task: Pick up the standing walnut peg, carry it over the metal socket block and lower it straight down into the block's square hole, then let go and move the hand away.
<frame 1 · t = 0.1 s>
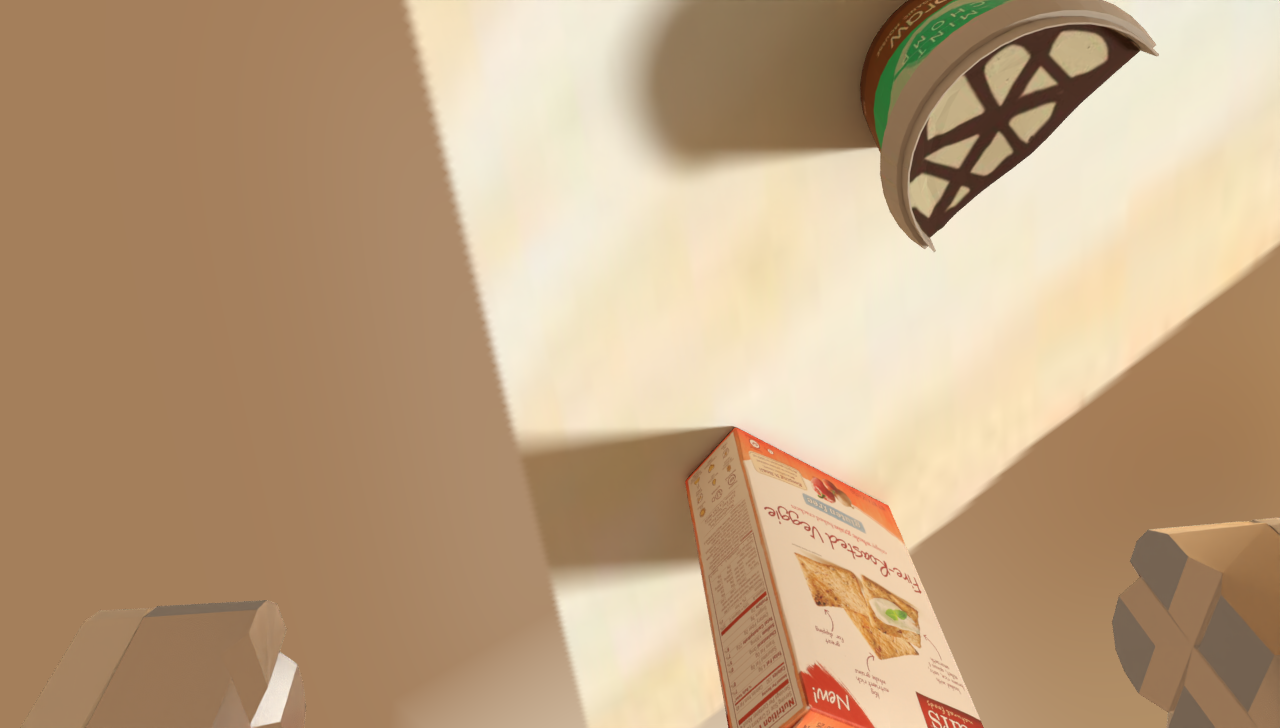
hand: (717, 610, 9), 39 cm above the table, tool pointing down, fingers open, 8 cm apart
food container: (915, 38, 45), on the table
cracker box: (788, 487, 63), on the table
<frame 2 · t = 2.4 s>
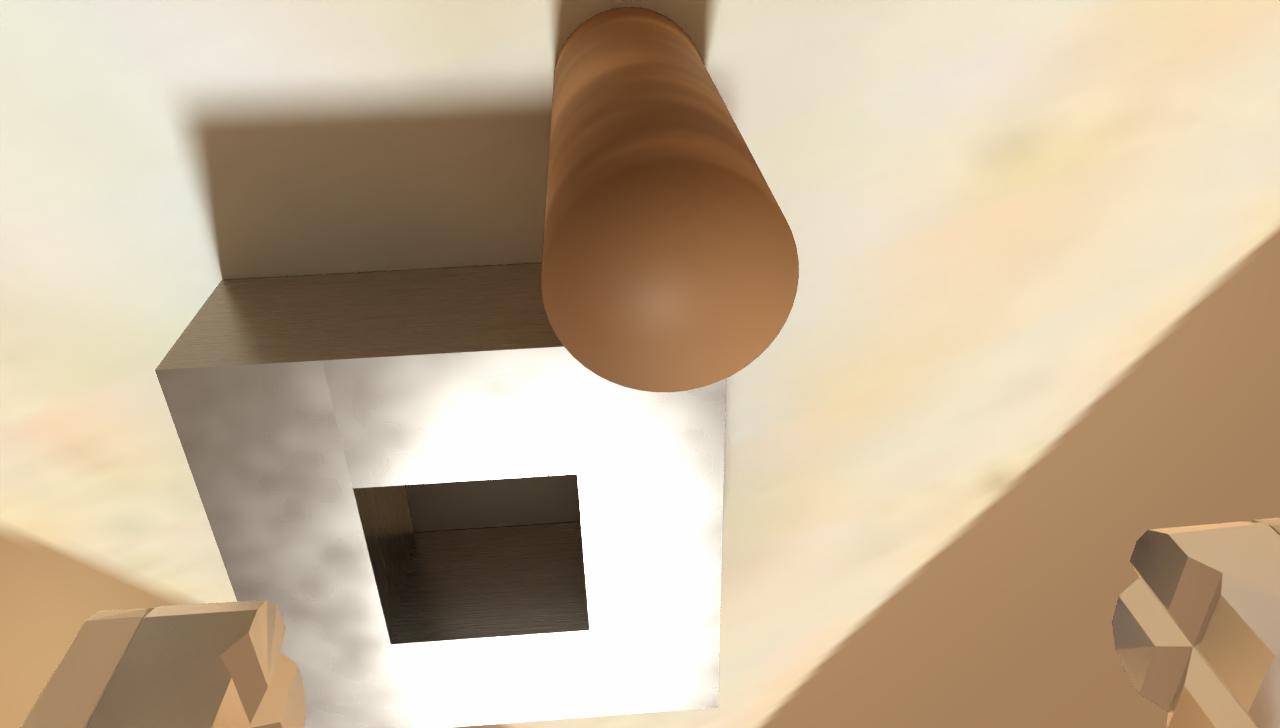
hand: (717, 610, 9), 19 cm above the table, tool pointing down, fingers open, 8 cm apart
walnut peg: (628, 86, 24), on the table
socket block: (491, 458, 30), on the table
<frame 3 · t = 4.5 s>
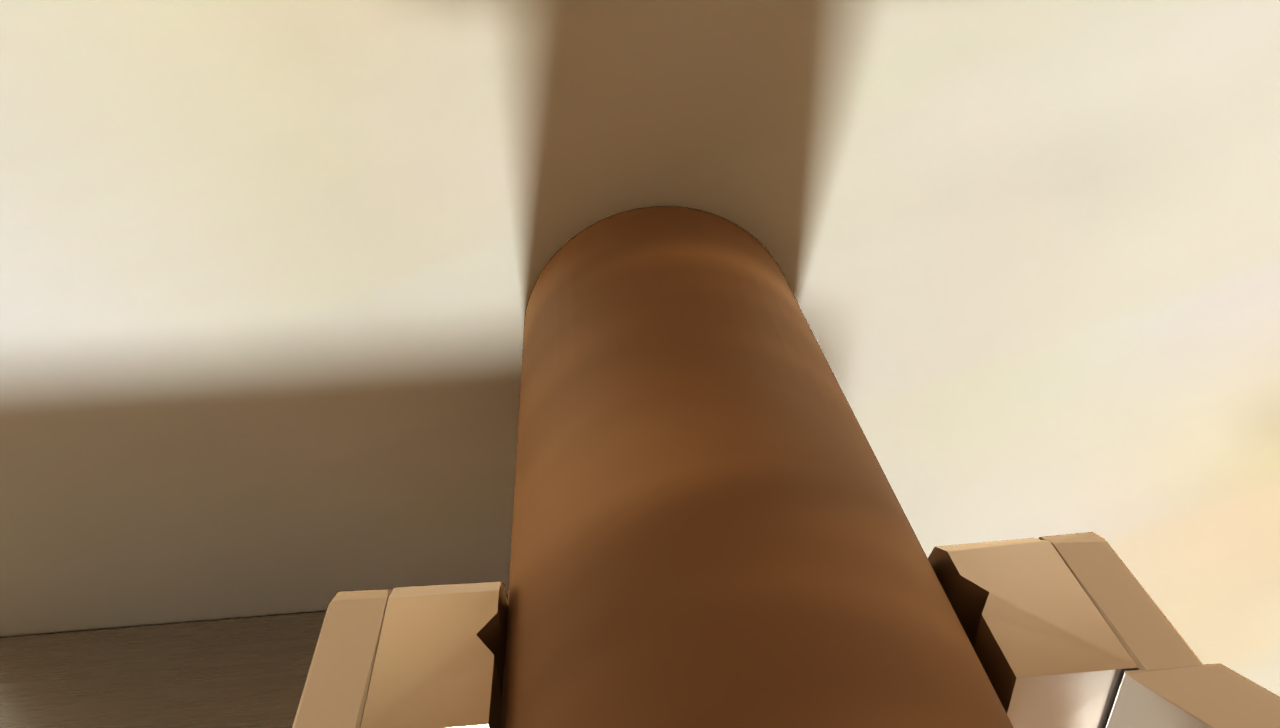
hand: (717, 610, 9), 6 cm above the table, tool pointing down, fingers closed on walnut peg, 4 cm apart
walnut peg: (659, 334, 14), on the table, touching gripper
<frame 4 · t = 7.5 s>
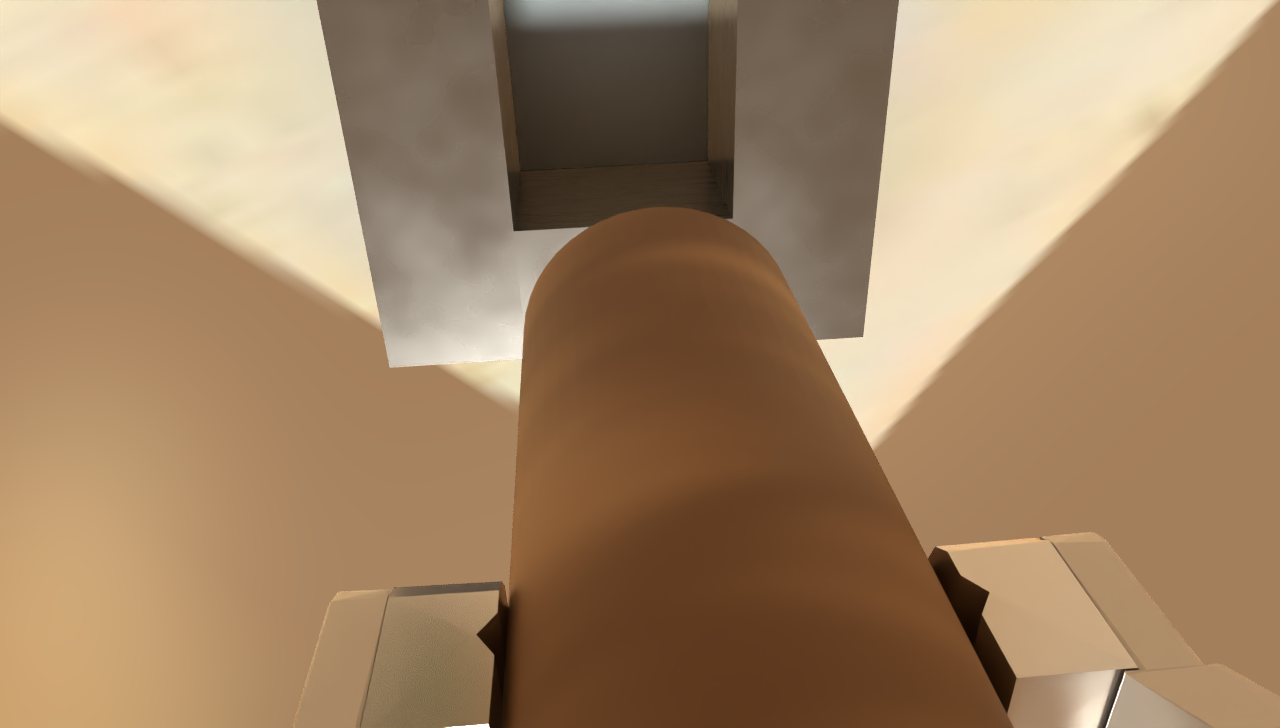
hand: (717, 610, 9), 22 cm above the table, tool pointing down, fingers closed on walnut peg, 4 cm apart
walnut peg: (659, 334, 14), point 17 cm above the table, touching gripper
socket block: (609, 70, 28), on the table
when the fingers open (7 cm above the table, at t = 10.7 s): walnut peg stays where it is, resting in socket block.
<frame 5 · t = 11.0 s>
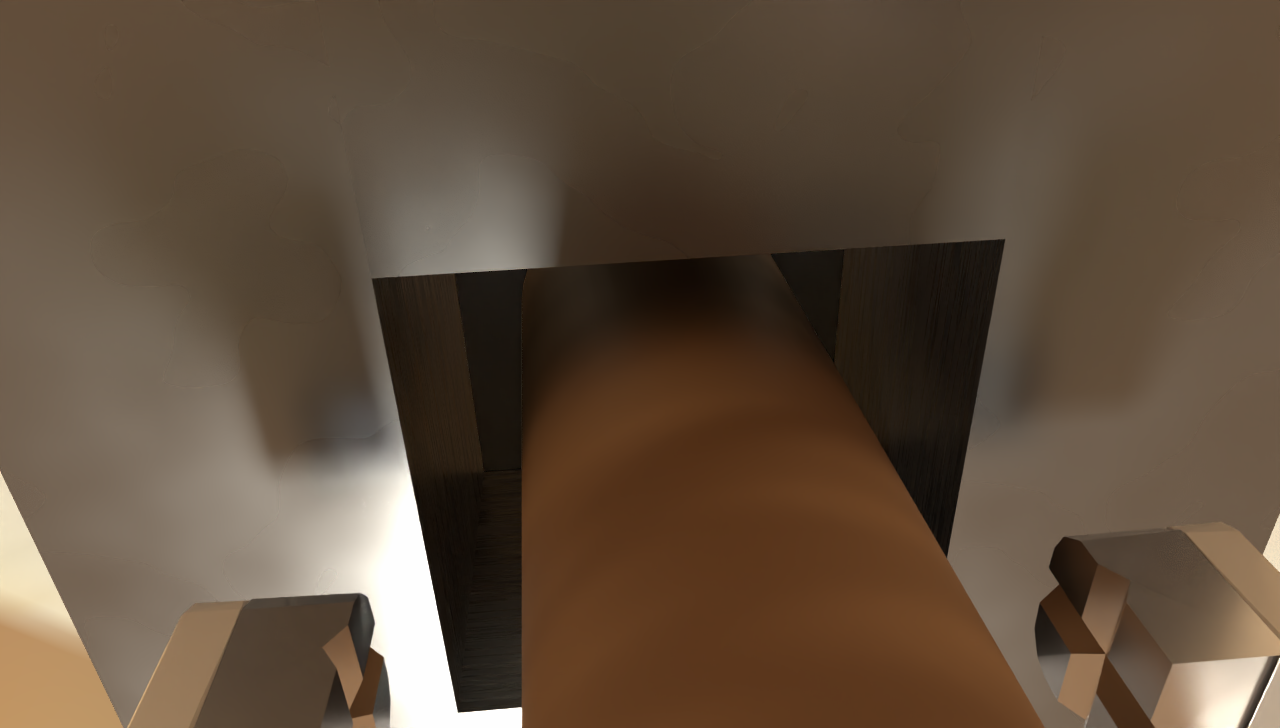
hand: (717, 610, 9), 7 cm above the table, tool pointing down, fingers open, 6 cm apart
walnut peg: (650, 305, 14), resting in socket block
socket block: (652, 305, 14), on the table
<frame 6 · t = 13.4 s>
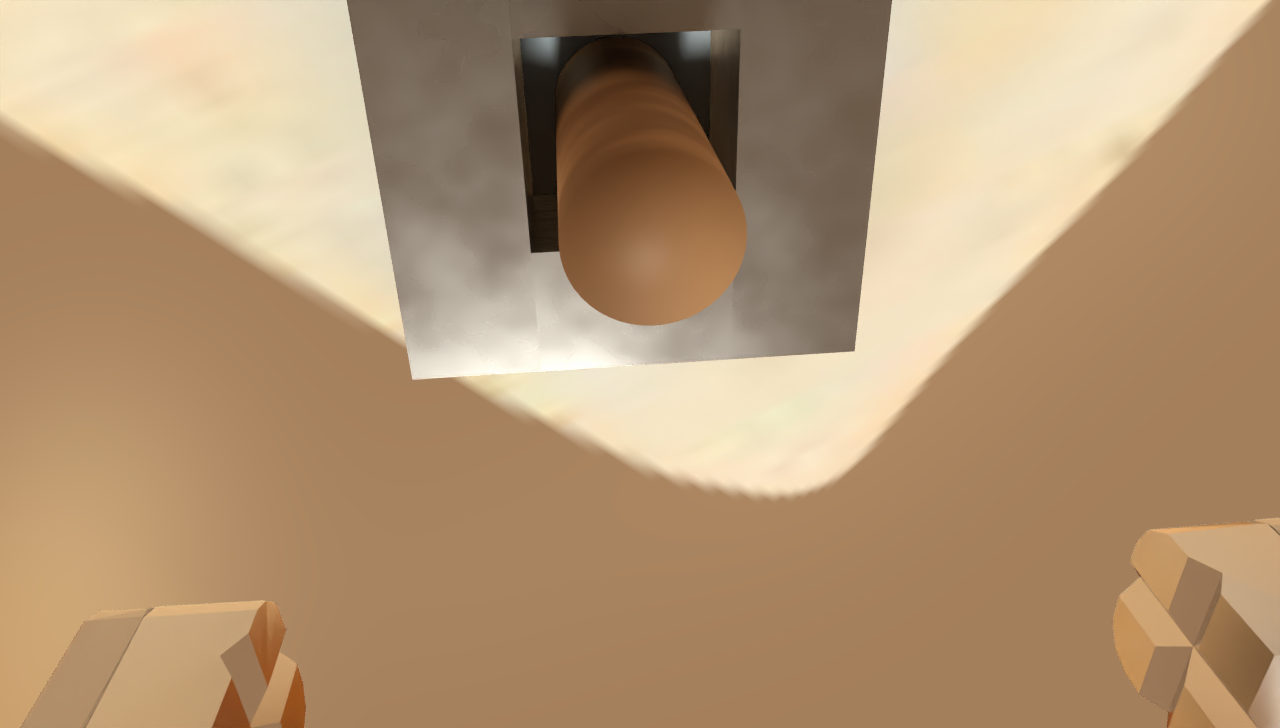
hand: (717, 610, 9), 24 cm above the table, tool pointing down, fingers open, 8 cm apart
walnut peg: (616, 100, 30), resting in socket block
socket block: (618, 101, 30), on the table
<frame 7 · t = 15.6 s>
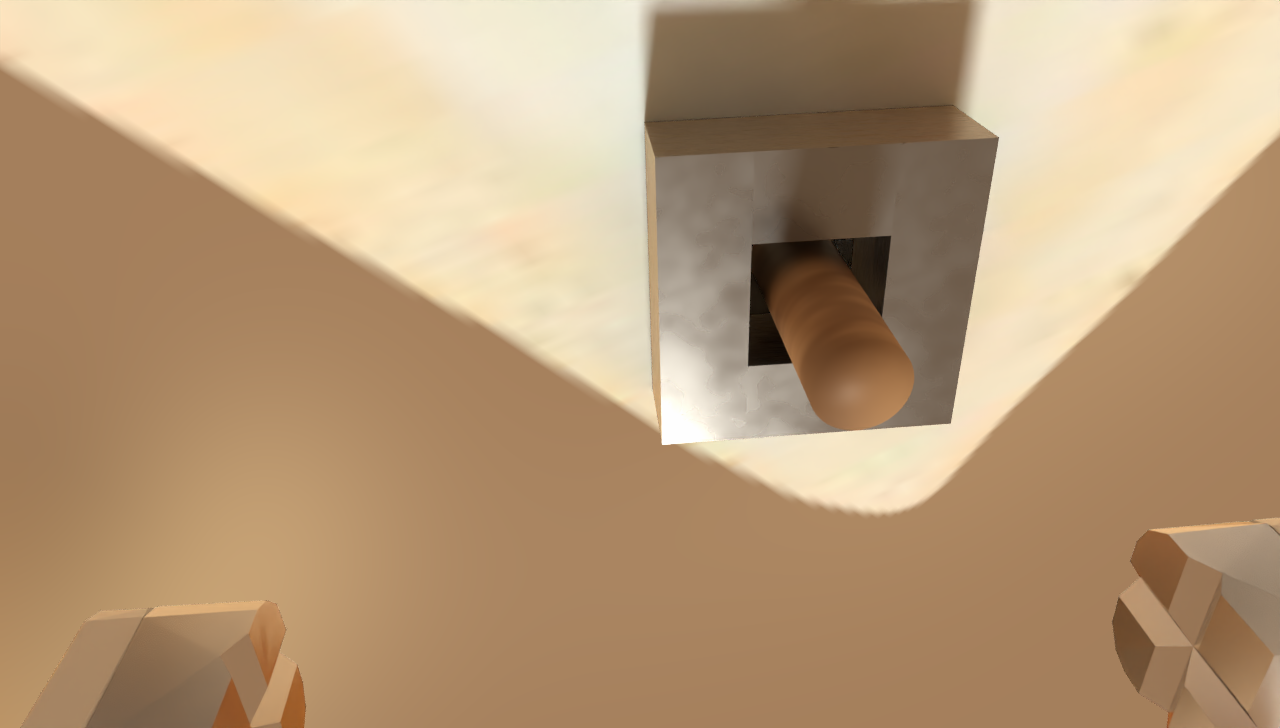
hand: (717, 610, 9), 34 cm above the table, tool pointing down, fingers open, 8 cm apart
walnut peg: (790, 256, 45), resting in socket block
socket block: (791, 257, 45), on the table
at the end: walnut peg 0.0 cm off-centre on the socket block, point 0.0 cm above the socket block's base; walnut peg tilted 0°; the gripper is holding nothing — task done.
